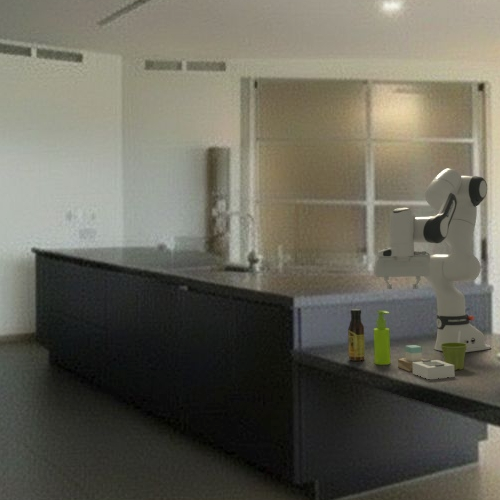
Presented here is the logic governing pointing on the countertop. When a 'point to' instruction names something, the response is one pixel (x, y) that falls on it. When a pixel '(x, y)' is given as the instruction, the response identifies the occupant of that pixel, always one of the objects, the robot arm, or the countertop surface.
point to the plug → (413, 353)
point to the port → (433, 369)
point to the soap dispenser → (381, 341)
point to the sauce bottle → (356, 336)
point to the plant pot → (454, 354)
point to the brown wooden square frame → (406, 364)
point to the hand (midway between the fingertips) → (402, 289)
